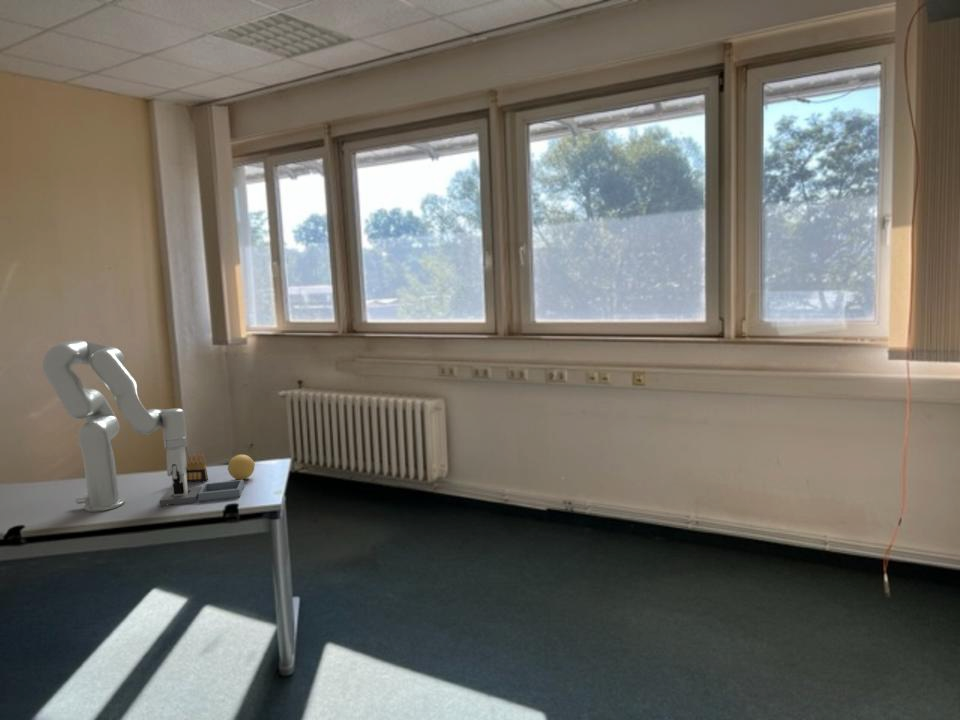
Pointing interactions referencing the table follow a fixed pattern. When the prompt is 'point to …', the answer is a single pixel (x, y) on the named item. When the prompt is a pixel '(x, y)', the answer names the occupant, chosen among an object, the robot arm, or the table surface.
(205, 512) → the table surface
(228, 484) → the parts tray
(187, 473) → the ammunition clip
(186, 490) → the fuse
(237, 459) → the stress ball
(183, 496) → the frame
